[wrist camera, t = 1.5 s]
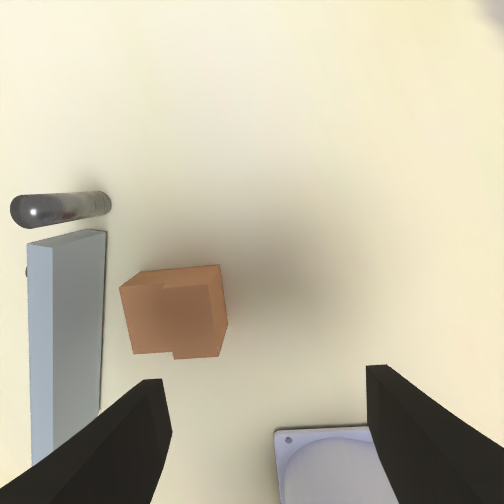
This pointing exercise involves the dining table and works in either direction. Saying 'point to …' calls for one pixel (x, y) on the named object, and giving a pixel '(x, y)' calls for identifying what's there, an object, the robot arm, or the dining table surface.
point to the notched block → (176, 311)
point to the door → (64, 335)
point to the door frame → (57, 208)
